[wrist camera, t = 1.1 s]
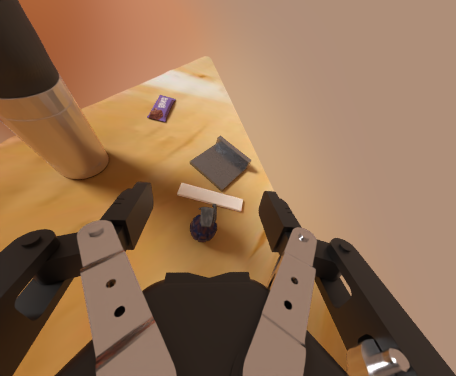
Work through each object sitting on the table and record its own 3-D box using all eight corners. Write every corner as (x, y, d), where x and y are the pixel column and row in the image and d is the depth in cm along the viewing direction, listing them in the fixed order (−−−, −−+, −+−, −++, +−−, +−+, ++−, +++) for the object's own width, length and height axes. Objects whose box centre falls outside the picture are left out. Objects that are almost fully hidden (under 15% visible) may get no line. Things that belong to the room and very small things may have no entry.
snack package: (159, 91, 51) (175, 96, 51) (160, 97, 52) (176, 102, 53) (146, 114, 45) (164, 119, 45) (147, 120, 46) (165, 124, 47)
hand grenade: (191, 216, 35) (193, 195, 26) (214, 219, 35) (223, 198, 27) (187, 244, 32) (188, 230, 23) (212, 246, 32) (221, 233, 24)
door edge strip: (177, 195, 36) (177, 193, 36) (181, 184, 38) (181, 182, 37) (240, 211, 38) (241, 210, 37) (242, 200, 39) (243, 199, 39)
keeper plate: (189, 163, 41) (190, 154, 39) (218, 144, 47) (220, 135, 44) (221, 191, 39) (224, 184, 37) (247, 167, 45) (251, 160, 42)
